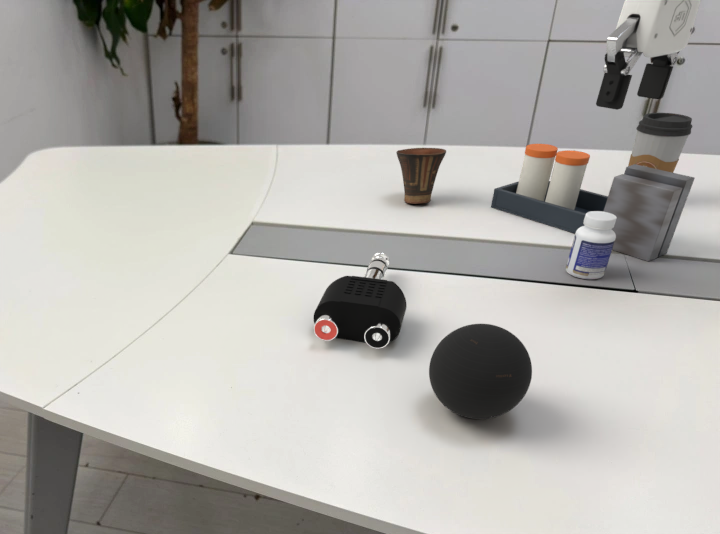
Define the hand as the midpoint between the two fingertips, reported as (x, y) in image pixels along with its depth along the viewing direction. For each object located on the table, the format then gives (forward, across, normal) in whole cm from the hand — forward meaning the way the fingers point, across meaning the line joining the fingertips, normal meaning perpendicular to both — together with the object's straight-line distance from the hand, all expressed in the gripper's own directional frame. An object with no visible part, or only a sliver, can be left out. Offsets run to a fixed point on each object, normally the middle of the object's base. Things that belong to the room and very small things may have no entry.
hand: (629, 102), depth 88 cm
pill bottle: (+24, 0, -1) cm, 24 cm away
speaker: (+24, -42, -14) cm, 50 cm away
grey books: (+24, +14, 0) cm, 28 cm away
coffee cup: (+24, +38, +11) cm, 46 cm away
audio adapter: (+25, -34, +10) cm, 43 cm away
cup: (+24, +6, +37) cm, 45 cm away
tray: (+24, +20, +15) cm, 34 cm away
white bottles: (+24, +20, +19) cm, 36 cm away
